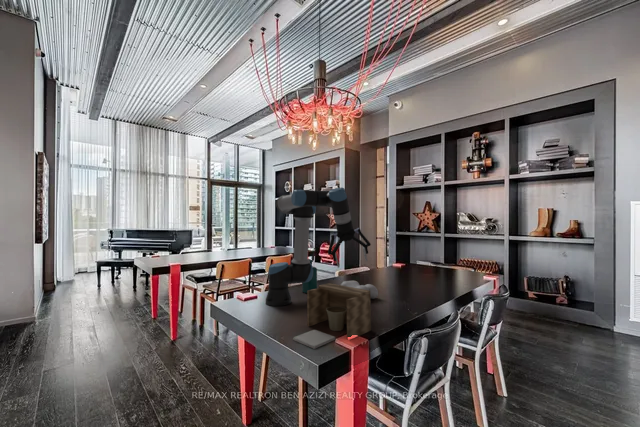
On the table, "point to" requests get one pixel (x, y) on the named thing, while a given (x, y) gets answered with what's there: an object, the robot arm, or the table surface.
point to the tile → (314, 338)
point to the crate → (342, 297)
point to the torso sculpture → (362, 287)
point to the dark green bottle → (312, 283)
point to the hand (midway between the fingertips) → (352, 263)
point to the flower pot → (336, 317)
